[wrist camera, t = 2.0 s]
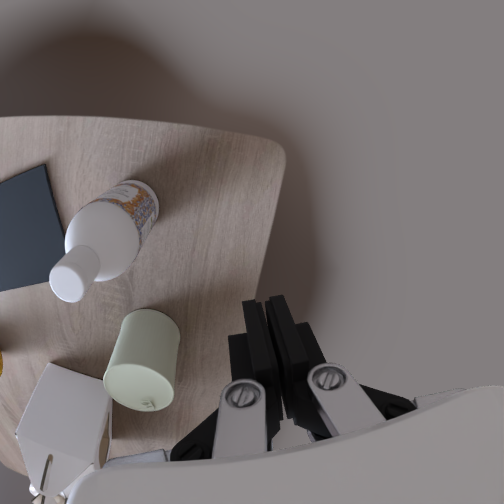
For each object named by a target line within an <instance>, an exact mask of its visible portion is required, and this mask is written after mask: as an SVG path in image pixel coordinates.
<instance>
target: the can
mask: <svg viewBox="0 0 504 504" xmlns="http://www.w3.org/2000/svg"><path fill="white" fill-rule="evenodd" d="M179 343H180V332H179V329H178V327H177V325H176V324H175V322H174V321H173V320H172V319H171V318H169V317H168V316H167V315H165V314H163V313H161V312H159V311H156V310H151V309H140V310H136V311H133V312H131V313H130V314H128V315H127V316H126V317H125V318H124V320H123V322H122V325H121V330H120V333H119V336H118V339H117V342H116V345H115V347H114V350H113V353H112V356H111V359H110V361H109V364H108V367H107V370H106V372H105V374H104V377H103V383H104V387H105V389H106V391H107V392H108V394H109V395H110V396H111V397H112V398H113V399H114V400H116V401H117V402H118V403H120V404H122V405H124V406H126V407H128V408H131V409H134V410H139V411H157V410H161V409H163V408H165V407H167V406H168V405H170V404H171V402H172V401H173V399H174V394H175V392H174V385H175V372H176V361H177V352H178V345H179Z"/></svg>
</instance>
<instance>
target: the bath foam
mask: <svg viewBox="0 0 504 504" xmlns="http://www.w3.org/2000/svg"><path fill="white" fill-rule="evenodd" d="M158 213H159V203H158V199H157V197H156V195H155V193H154V191H153V190H152V189H151V188H150V187H149V186H148V185H146V184H145V183H143V182H140V181H136V180H127V181H123V182H121V183H119V184H117V185H116V186H114V187H112V188H111V189H109V190H108V191H106V192H105V193H103V194H102V195H100V196H99V197H97V198H96V199H94V200H93V201H91V202H90V203H88V204H87V205H86V206H84V207H83V208H82V209H80V210H79V211H78V213H77V214H76V215H75V216H74V218H73V219H72V221H71V222H70V224H69V226H68V229H67V232H66V236H65V252H66V254H65V256H64V257H63V258H62V259H61V260H60V261H59V262H58V263H57V264H56V265H55V266H54V267H53V268H52V270H51V272H50V276H49V281H50V285H51V288H52V290H53V291H54V293H55V294H56V295H57V296H58V297H59V298H60V299H62V300H64V301H67V302H77V301H79V300H81V299H82V298H83V297H84V295H85V294H86V292H87V291H88V289H89V288H90V286H91V285H92V283H93V282H94V281H105V280H110V279H113V278H115V277H117V276H119V275H120V274H122V273H123V272H124V271H126V270H127V269H128V268H129V267H130V265H131V264H132V263H133V262H134V260H135V259H136V257H137V255H138V253H139V251H140V249H141V247H142V245H143V244H144V242H145V240H146V238H147V236H148V235H149V233H150V231H151V229H152V227H153V225H154V223H155V222H156V220H157V217H158Z"/></svg>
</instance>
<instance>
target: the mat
mask: <svg viewBox="0 0 504 504" xmlns="http://www.w3.org/2000/svg"><path fill="white" fill-rule="evenodd" d="M65 254H66V252H65V233H64V230H63V227H62V224H61V221H60V218H59V214H58V211H57V208H56V204H55V200H54V197H53V193H52V189H51V186H50V182H49V178H48V173H47V169H46V165H45V164H43V165H41V166H39V167H36V168H34V169H31V170H29V171H27V172H24V173H22V174H20V175H18V176H15V177H13V178H11V179H9V180H7V181H5V182H2V183H0V292H1V291H6V290H10V289H15V288H20V287H24V286H29V285H34V284H38V283H43V282H48V281H49V276H50V272H51V270H52V268H53V267H54V266H55V265H56V264H57V263H58V262H59V261H60V260H61V259H62V258H63V257H64V256H65Z"/></svg>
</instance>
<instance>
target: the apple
mask: <svg viewBox="0 0 504 504" xmlns="http://www.w3.org/2000/svg"><path fill="white" fill-rule="evenodd" d="M2 369H3V360H2V354H1V350H0V376H1V374H2Z"/></svg>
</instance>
